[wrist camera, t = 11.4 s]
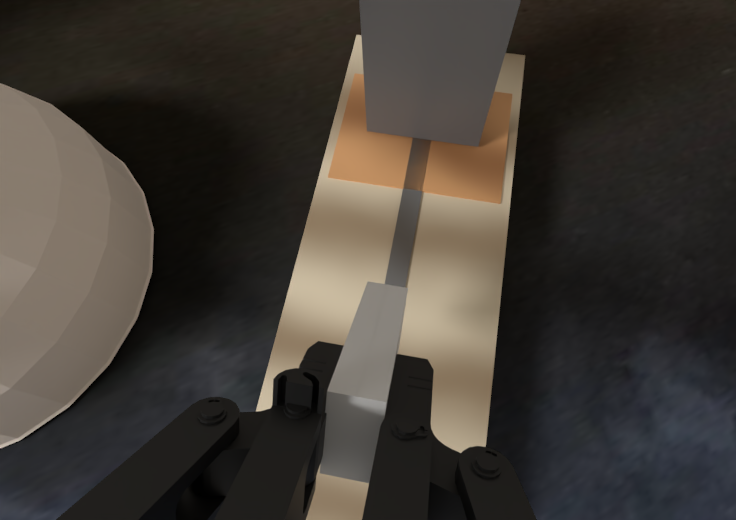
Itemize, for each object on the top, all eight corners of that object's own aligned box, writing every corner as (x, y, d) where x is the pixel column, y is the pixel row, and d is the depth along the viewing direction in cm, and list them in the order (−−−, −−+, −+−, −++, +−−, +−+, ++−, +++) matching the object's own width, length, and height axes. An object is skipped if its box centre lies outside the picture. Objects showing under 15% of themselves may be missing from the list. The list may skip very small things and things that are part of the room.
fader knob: (478, 146, 26) (534, -46, 17) (366, 131, 27) (355, -64, 17) (486, 87, 28) (542, -123, 18) (380, 73, 29) (377, -137, 19)
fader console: (463, 549, 22) (474, 562, 20) (248, 502, 23) (229, 507, 21) (512, 91, 32) (525, 54, 29) (359, 71, 33) (356, 33, 30)
